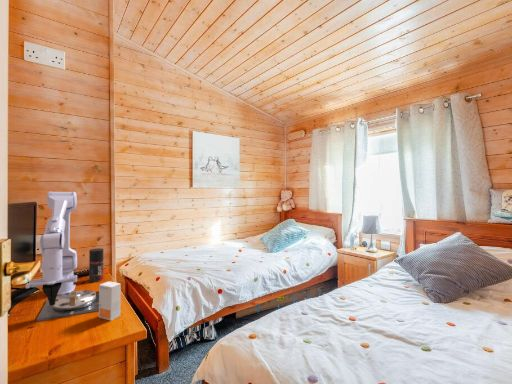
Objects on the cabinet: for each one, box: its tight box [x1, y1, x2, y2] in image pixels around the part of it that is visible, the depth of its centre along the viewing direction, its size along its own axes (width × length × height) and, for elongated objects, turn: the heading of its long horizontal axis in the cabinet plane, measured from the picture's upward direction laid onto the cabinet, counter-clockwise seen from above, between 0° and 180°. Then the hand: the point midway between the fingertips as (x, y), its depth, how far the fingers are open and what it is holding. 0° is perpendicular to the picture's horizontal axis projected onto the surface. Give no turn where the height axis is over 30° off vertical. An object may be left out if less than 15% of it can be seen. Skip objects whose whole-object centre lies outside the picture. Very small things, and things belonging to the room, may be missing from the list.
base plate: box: [36, 290, 99, 322], centre depth 105 cm, size 19×20×1 cm
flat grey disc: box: [53, 289, 96, 311], centre depth 104 cm, size 16×14×6 cm
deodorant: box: [88, 247, 104, 283], centre depth 133 cm, size 6×6×15 cm
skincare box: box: [98, 280, 122, 322], centre depth 97 cm, size 6×4×12 cm
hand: (52, 304), depth 97 cm, fingers closed
